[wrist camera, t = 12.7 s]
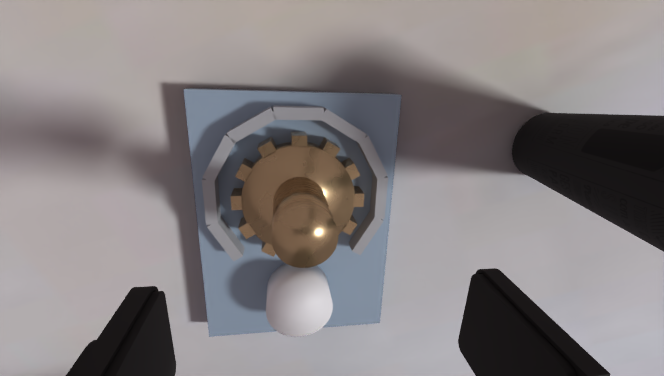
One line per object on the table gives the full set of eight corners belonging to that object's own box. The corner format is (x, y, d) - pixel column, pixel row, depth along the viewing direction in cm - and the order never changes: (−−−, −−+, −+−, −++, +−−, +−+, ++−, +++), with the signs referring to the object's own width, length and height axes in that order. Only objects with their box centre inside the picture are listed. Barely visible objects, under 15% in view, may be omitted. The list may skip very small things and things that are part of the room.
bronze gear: (230, 130, 20) (208, 155, 14) (362, 132, 21) (395, 154, 15) (237, 251, 23) (222, 316, 17) (355, 246, 24) (381, 304, 18)
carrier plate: (190, 88, 20) (170, 91, 17) (393, 93, 22) (416, 97, 19) (213, 322, 26) (201, 364, 22) (374, 310, 28) (389, 346, 24)
